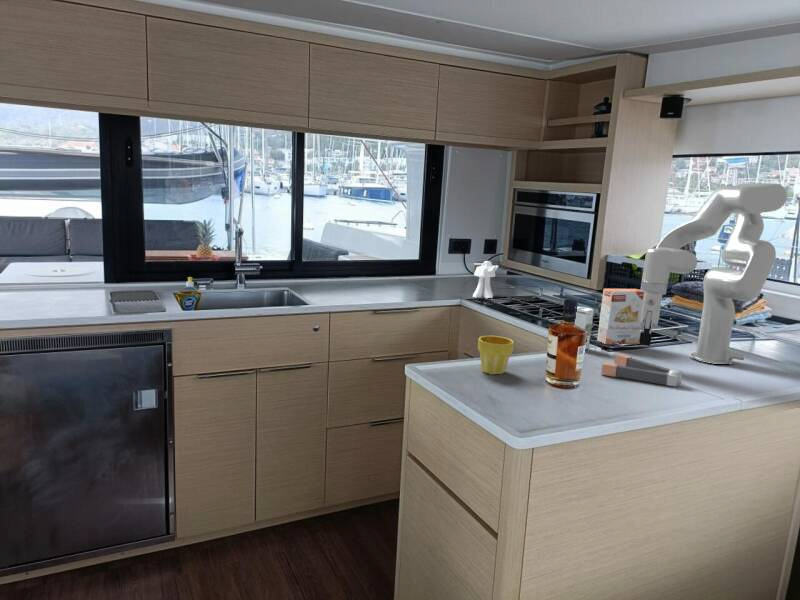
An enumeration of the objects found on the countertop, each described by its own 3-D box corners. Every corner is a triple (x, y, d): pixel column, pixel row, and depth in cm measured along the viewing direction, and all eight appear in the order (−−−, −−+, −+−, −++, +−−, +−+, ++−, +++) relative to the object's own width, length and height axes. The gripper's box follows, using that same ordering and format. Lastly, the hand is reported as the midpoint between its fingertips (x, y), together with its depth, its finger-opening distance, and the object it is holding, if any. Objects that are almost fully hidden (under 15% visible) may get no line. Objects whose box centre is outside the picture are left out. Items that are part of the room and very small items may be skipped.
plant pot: (518, 372, 177) (520, 341, 176) (496, 379, 170) (499, 346, 169) (490, 364, 185) (492, 333, 183) (468, 370, 178) (471, 338, 176)
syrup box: (573, 345, 213) (577, 305, 210) (589, 349, 209) (594, 308, 206) (566, 348, 208) (571, 307, 206) (583, 352, 205) (587, 310, 202)
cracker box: (605, 349, 210) (612, 290, 206) (595, 344, 215) (602, 287, 211) (639, 348, 213) (647, 290, 210) (629, 344, 219) (636, 287, 215)
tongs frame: (680, 384, 174) (682, 370, 174) (680, 388, 170) (682, 375, 169) (603, 371, 183) (604, 358, 183) (601, 375, 179) (602, 362, 178)
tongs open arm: (672, 379, 177) (673, 369, 177) (666, 380, 176) (668, 370, 175) (619, 363, 192) (621, 353, 191) (614, 364, 190) (615, 354, 190)
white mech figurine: (464, 295, 303) (467, 260, 299) (484, 293, 310) (487, 259, 307) (479, 299, 293) (482, 263, 290) (500, 298, 300) (503, 262, 297)
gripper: (666, 292, 179) (656, 351, 182) (667, 287, 192) (658, 342, 195) (639, 288, 182) (630, 347, 185) (642, 283, 195) (633, 338, 198)
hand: (644, 344), depth 190 cm, fingers closed
